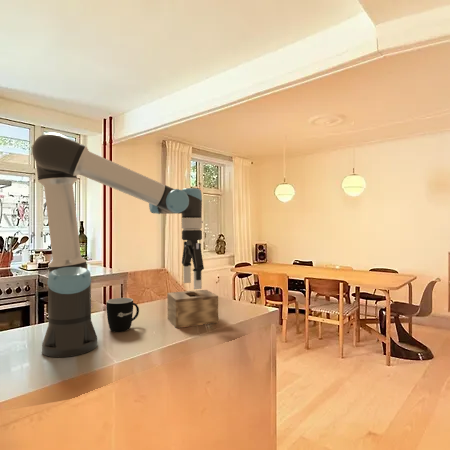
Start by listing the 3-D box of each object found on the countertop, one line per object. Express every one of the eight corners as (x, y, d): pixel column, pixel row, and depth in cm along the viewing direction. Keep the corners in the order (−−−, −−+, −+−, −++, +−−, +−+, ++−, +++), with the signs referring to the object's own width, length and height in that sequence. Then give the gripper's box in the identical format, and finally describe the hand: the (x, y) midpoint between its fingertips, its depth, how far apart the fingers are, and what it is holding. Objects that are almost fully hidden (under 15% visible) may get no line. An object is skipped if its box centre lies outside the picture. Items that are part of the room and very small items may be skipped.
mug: (115, 335, 118) (115, 304, 118) (101, 329, 125) (101, 300, 124) (145, 327, 127) (145, 298, 127) (131, 322, 133) (131, 295, 133)
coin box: (175, 327, 126) (175, 299, 126) (167, 318, 138) (167, 292, 138) (218, 322, 132) (218, 295, 132) (206, 314, 144) (206, 289, 144)
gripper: (212, 230, 125) (212, 290, 125) (191, 228, 148) (192, 280, 148) (191, 230, 122) (192, 292, 122) (174, 228, 145) (174, 281, 145)
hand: (192, 285), depth 135 cm, fingers open, 13 cm apart
